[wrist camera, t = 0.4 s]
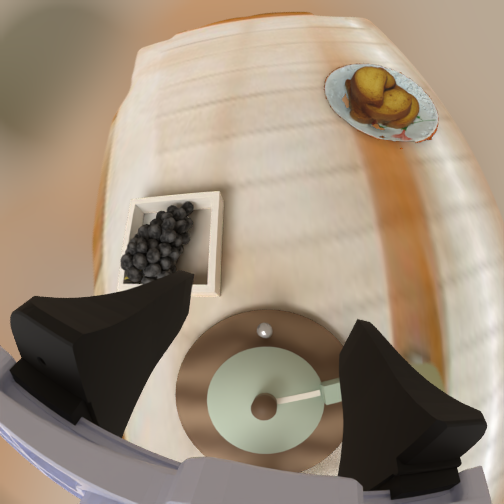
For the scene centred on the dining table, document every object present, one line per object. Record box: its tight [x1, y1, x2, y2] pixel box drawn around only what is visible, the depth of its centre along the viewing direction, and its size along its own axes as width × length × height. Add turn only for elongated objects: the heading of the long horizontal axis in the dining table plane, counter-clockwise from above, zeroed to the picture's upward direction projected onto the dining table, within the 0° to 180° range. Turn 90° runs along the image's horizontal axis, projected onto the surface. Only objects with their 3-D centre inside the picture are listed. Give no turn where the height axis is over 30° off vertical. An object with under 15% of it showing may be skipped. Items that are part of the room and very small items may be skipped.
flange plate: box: [207, 347, 342, 454], centre depth 31 cm, size 20×15×4 cm
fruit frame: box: [117, 191, 224, 297], centre depth 41 cm, size 15×15×4 cm
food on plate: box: [324, 64, 439, 149], centre depth 46 cm, size 26×26×7 cm
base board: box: [176, 310, 343, 473], centre depth 31 cm, size 25×25×6 cm
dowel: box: [257, 323, 273, 338], centre depth 35 cm, size 2×2×5 cm
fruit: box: [121, 202, 194, 285], centre depth 39 cm, size 9×8×15 cm
